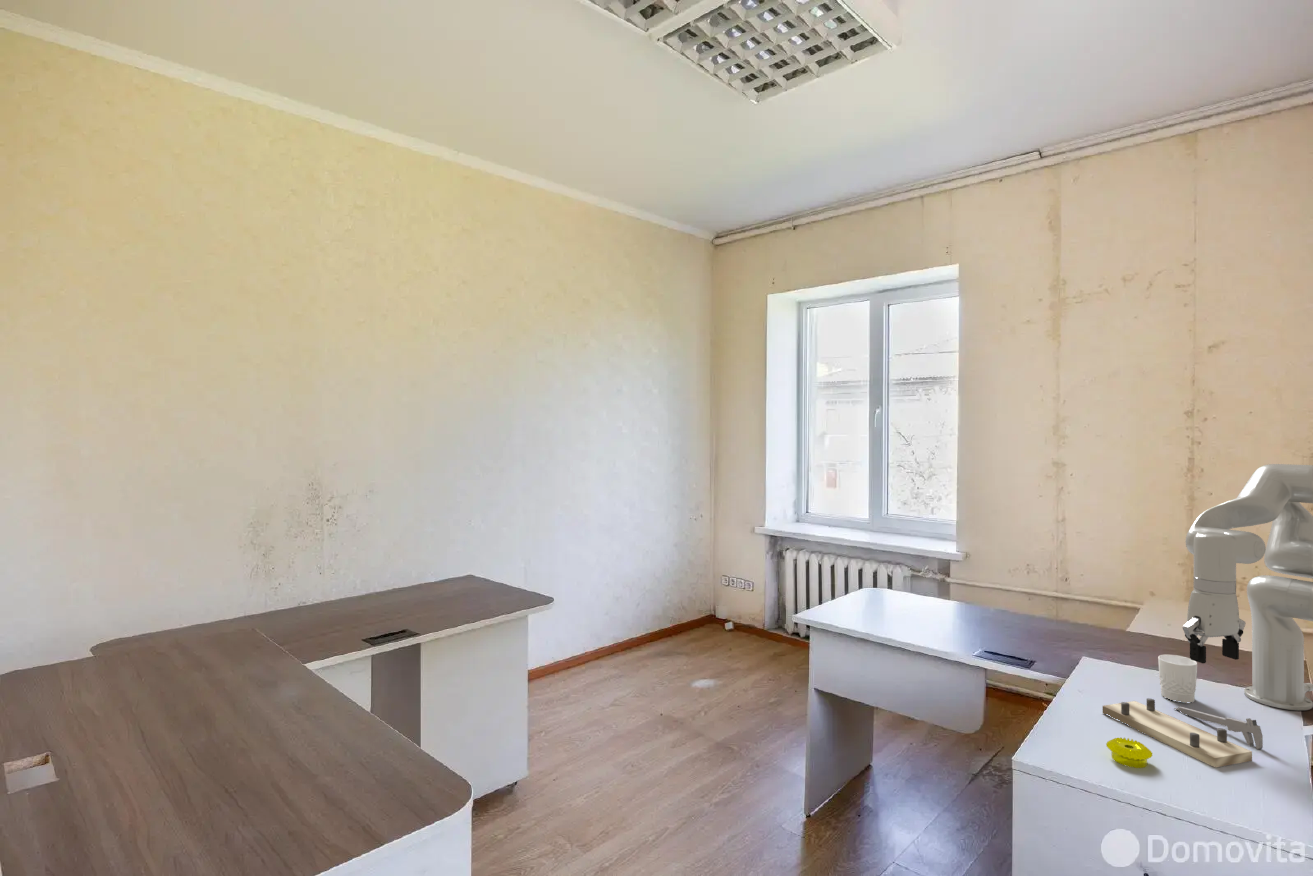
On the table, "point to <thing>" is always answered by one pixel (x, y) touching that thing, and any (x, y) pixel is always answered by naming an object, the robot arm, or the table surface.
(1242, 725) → the caliper
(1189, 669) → the white cup
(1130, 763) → the gear
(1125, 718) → the tool rest
